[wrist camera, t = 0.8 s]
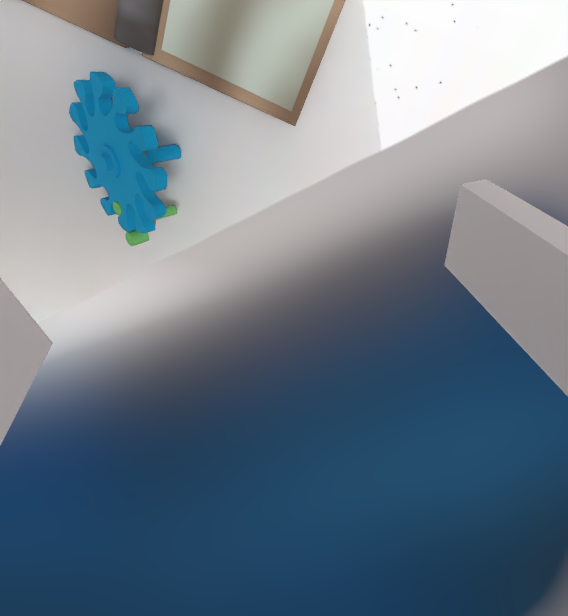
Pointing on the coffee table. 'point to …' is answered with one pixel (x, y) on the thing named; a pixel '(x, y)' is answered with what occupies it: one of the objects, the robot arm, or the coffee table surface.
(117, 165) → the gear
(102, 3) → the hinge board
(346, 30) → the coffee table surface
